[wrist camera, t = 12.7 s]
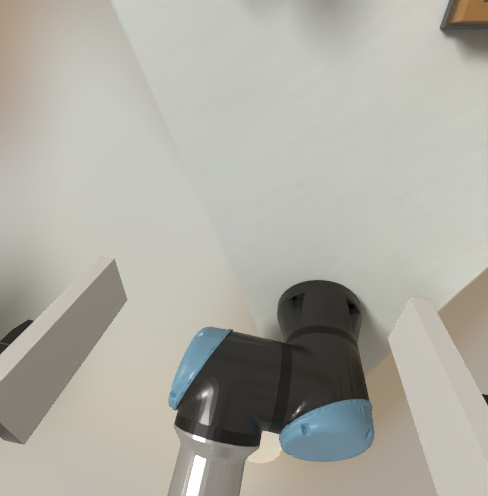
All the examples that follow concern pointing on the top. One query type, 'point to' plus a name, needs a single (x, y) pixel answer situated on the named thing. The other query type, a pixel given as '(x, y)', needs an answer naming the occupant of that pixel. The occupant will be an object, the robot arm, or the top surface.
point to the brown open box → (466, 14)
